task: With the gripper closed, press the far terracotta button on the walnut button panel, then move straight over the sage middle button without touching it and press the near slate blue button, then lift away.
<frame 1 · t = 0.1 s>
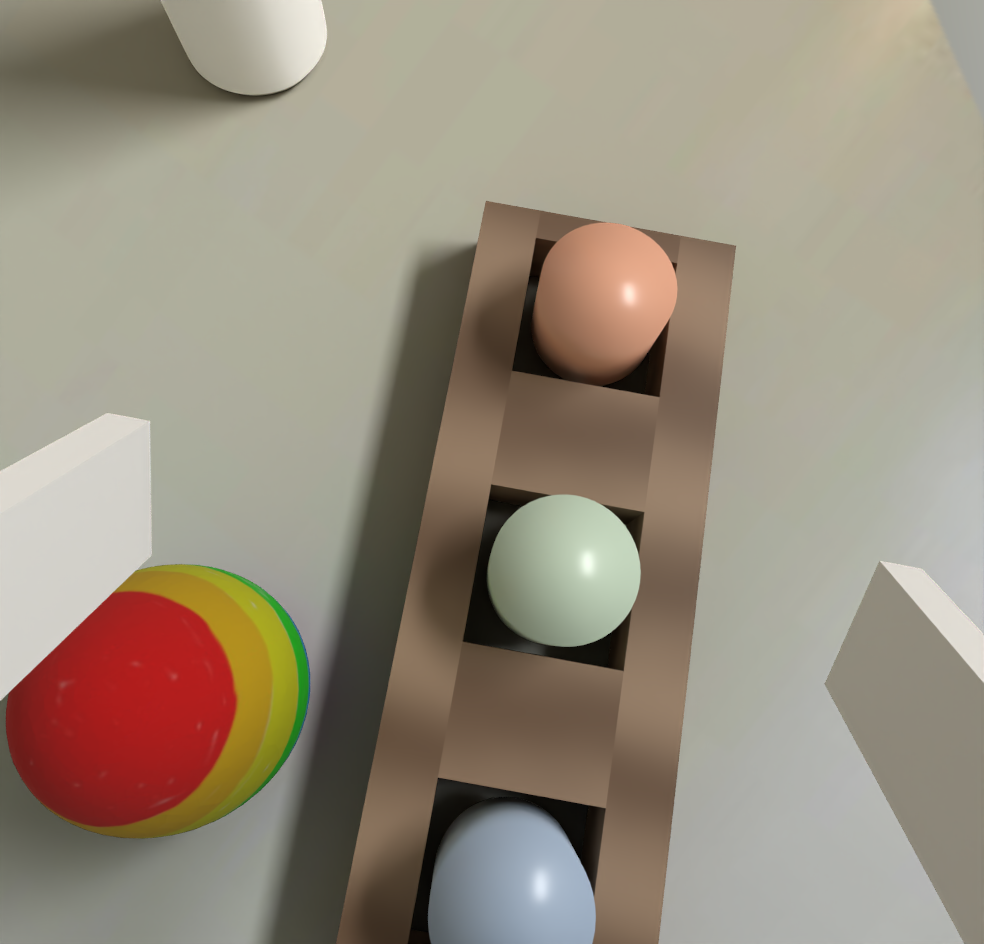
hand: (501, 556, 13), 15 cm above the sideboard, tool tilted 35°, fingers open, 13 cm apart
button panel: (546, 581, 28), on the sideboard
slate blue button: (508, 892, 22), point 4 cm above the sideboard, slide at 0.0 cm
terracotta button: (599, 308, 27), point 4 cm above the sideboard, slide at 0.0 cm
decorative egg: (219, 684, 27), on the sideboard
sage button: (558, 573, 25), point 4 cm above the sideboard, slide at 0.0 cm
can: (259, 45, 33), on the sideboard
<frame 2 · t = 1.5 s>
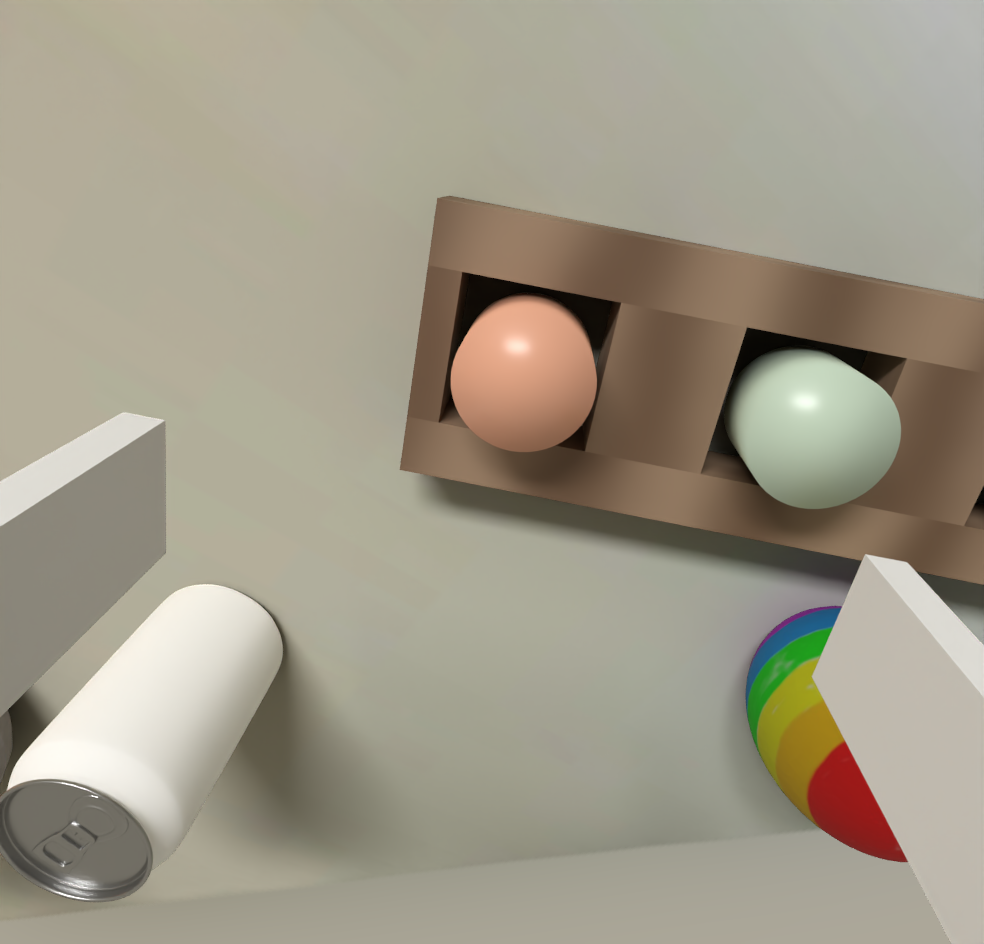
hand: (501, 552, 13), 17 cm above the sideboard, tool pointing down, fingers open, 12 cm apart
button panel: (776, 395, 29), on the sideboard
terracotta button: (525, 369, 25), point 4 cm above the sideboard, slide at 0.0 cm
decorative egg: (819, 654, 33), on the sideboard
sage button: (805, 424, 25), point 4 cm above the sideboard, slide at 0.0 cm
can: (223, 633, 36), on the sideboard
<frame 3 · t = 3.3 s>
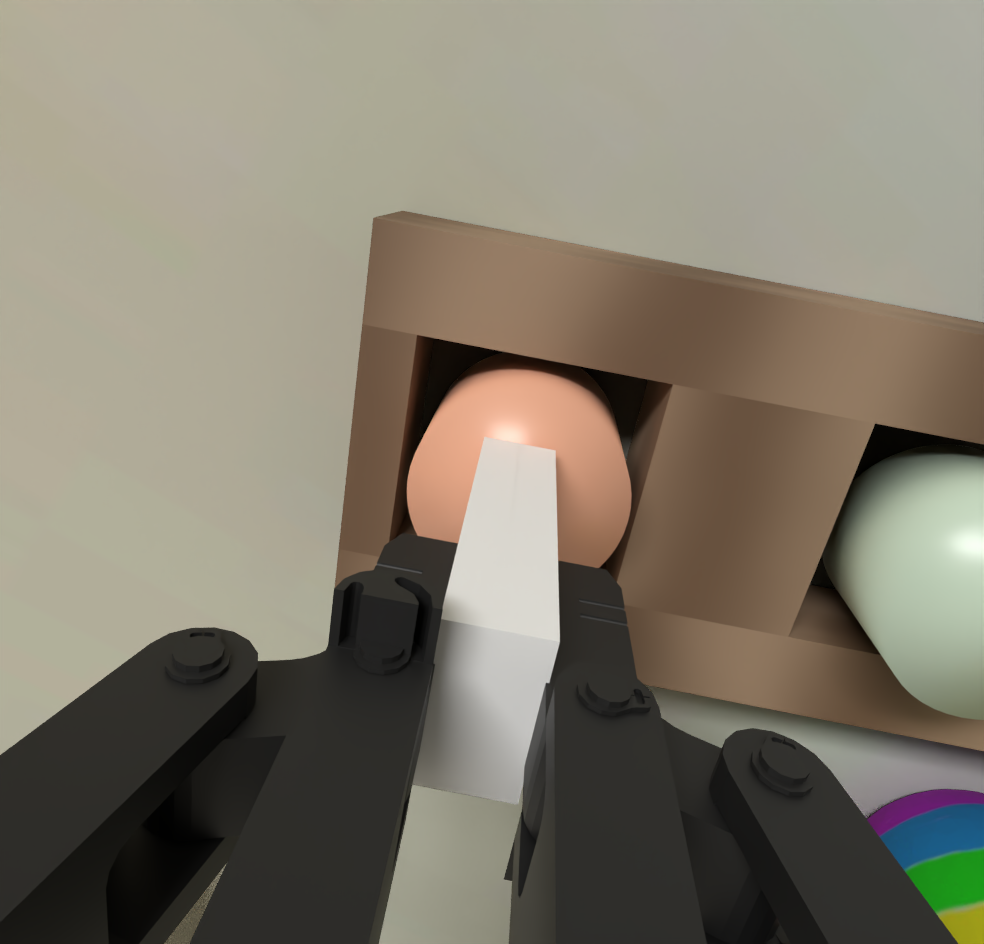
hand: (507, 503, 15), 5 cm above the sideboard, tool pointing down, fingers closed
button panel: (892, 505, 19), on the sideboard
terracotta button: (521, 467, 17), point 2 cm above the sideboard, slide at 1.2 cm, touching gripper
decorative egg: (931, 844, 24), on the sideboard
sage button: (964, 575, 16), point 4 cm above the sideboard, slide at 0.0 cm
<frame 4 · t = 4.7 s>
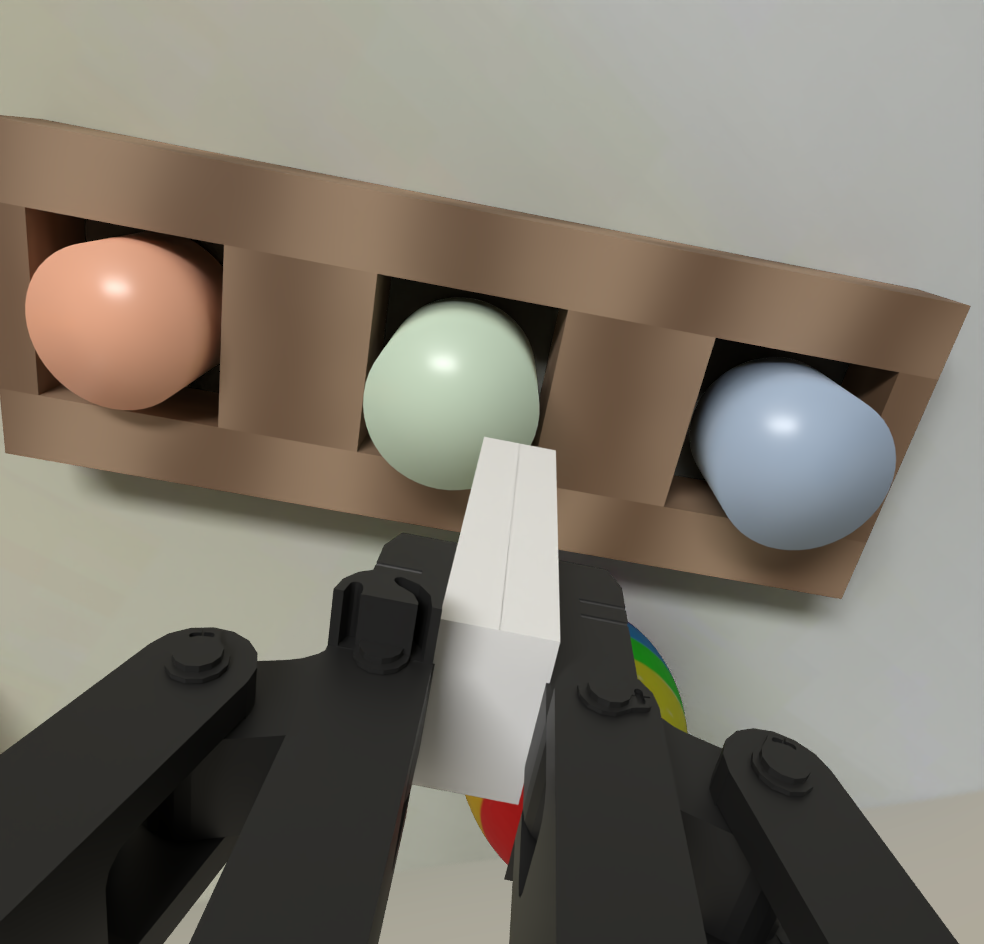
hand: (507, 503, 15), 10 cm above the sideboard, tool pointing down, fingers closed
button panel: (464, 359, 25), on the sideboard
slate blue button: (783, 450, 22), point 4 cm above the sideboard, slide at 0.0 cm
terracotta button: (141, 317, 22), point 2 cm above the sideboard, slide at 1.5 cm
decorative egg: (561, 654, 30), on the sideboard
sage button: (456, 390, 21), point 4 cm above the sideboard, slide at 0.0 cm
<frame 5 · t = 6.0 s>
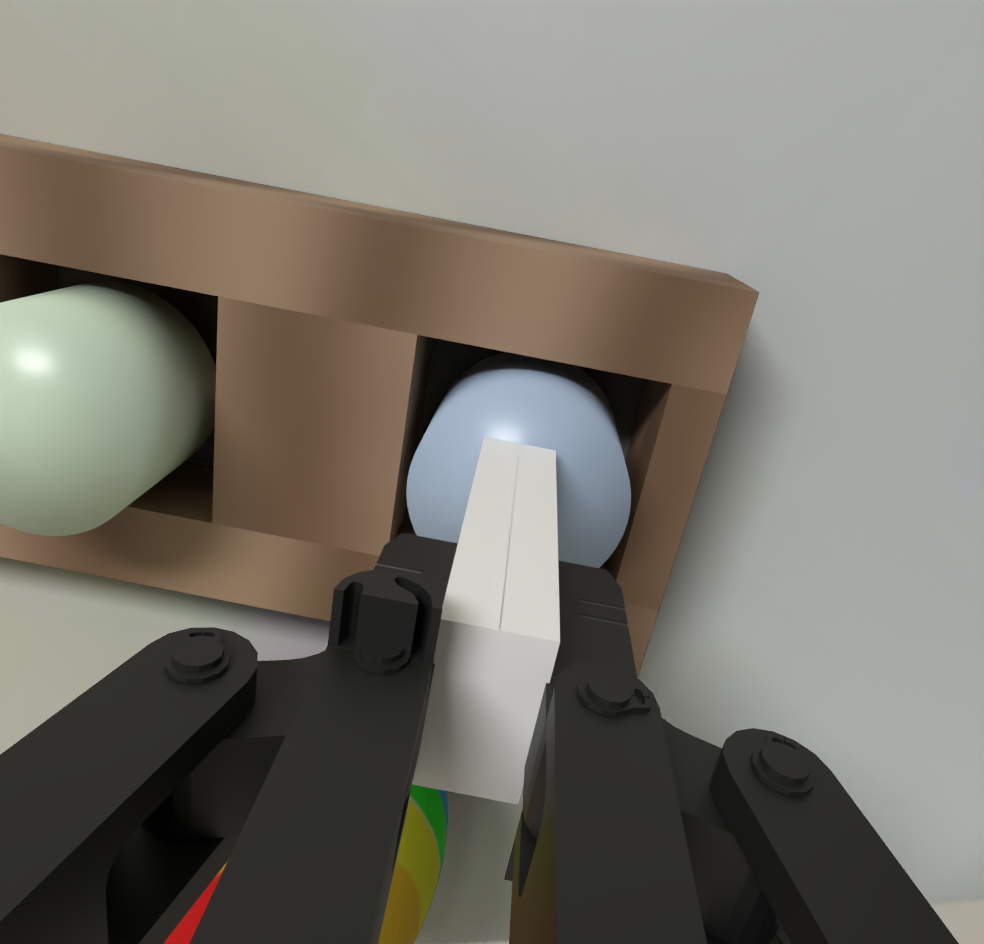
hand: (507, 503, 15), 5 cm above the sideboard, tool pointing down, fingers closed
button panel: (161, 363, 19), on the sideboard
slate blue button: (521, 468, 17), point 2 cm above the sideboard, slide at 1.2 cm, touching gripper
decorative egg: (340, 726, 24), on the sideboard
sage button: (79, 402, 16), point 4 cm above the sideboard, slide at 0.0 cm
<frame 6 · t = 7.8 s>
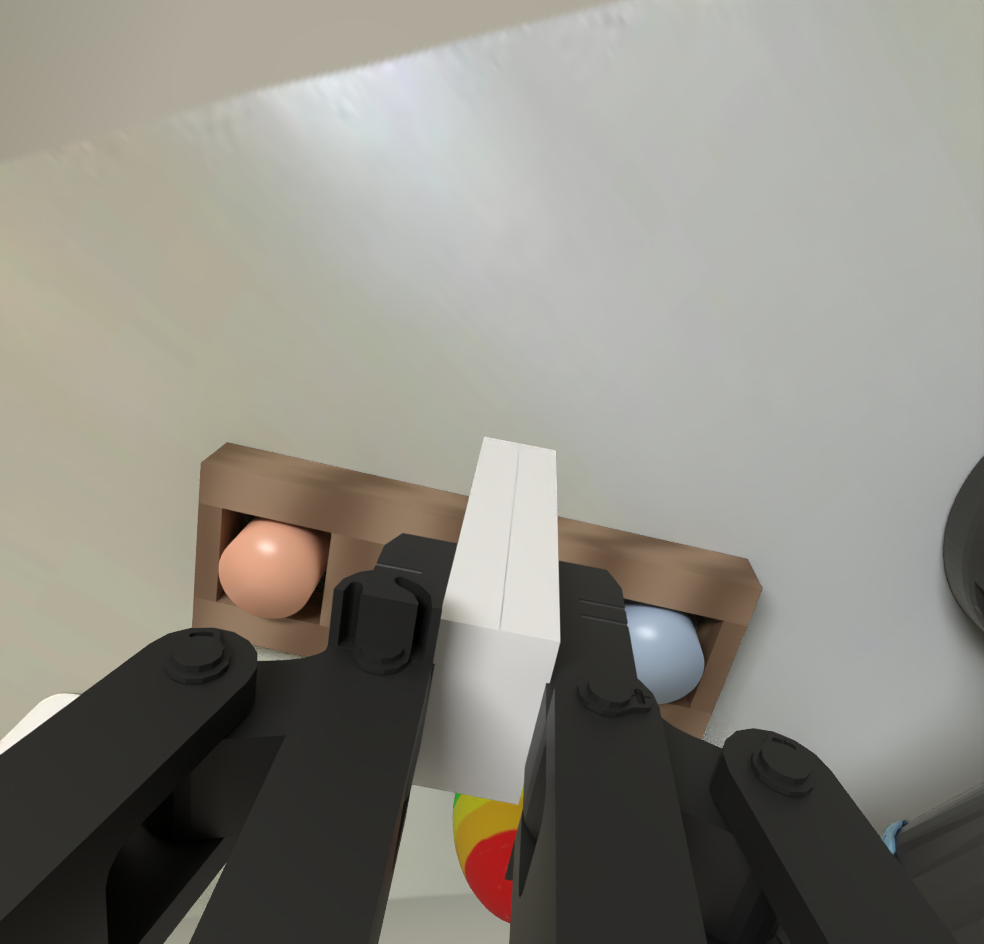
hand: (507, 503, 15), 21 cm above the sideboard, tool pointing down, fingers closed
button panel: (469, 581, 40), on the sideboard
slate blue button: (650, 643, 38), point 2 cm above the sideboard, slide at 1.5 cm
terracotta button: (278, 559, 38), point 2 cm above the sideboard, slide at 1.5 cm
decorative egg: (528, 758, 44), on the sideboard
can: (86, 727, 46), on the sideboard
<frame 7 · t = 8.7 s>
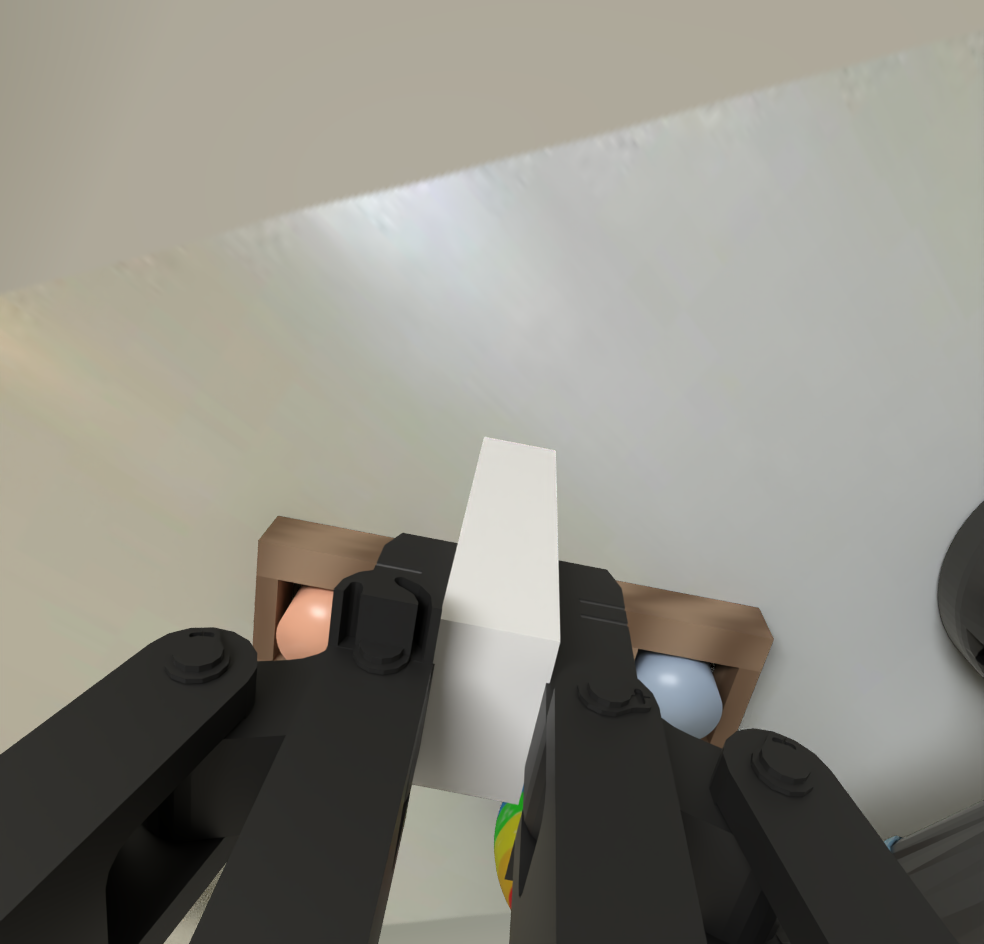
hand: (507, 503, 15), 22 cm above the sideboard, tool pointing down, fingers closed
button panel: (502, 633, 43), on the sideboard
slate blue button: (672, 687, 41), point 2 cm above the sideboard, slide at 1.5 cm
terracotta button: (328, 622, 41), point 2 cm above the sideboard, slide at 1.5 cm
decorative egg: (560, 789, 48), on the sideboard
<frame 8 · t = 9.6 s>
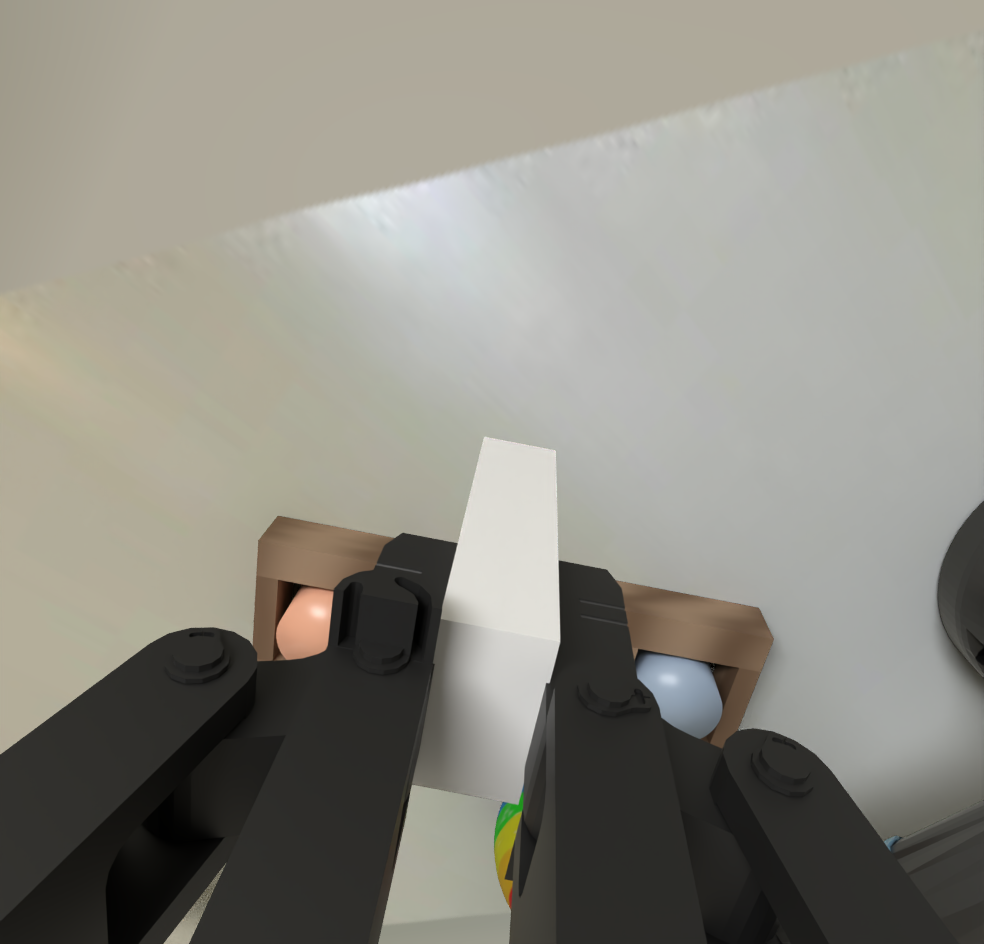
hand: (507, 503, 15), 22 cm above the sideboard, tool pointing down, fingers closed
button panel: (502, 633, 43), on the sideboard
slate blue button: (672, 687, 41), point 2 cm above the sideboard, slide at 1.5 cm
terracotta button: (328, 622, 41), point 2 cm above the sideboard, slide at 1.5 cm
decorative egg: (560, 790, 48), on the sideboard
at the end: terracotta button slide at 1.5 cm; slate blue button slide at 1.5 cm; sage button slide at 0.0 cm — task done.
